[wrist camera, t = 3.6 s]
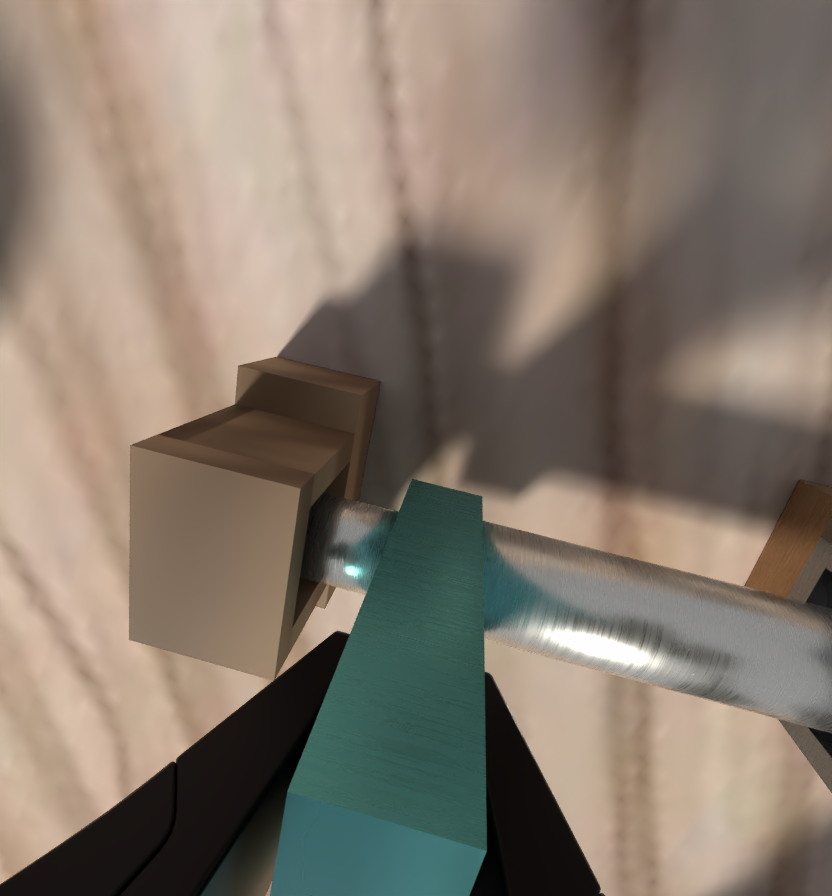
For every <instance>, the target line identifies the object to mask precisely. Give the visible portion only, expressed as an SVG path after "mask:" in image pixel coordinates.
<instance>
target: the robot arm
mask: <svg viewBox="0 0 832 896" xmlns="http://www.w3.org/2000/svg"><path fill="white" fill-rule="evenodd" d="M349 636H350V634H348V633H344V632H341V631H336V632H334V633H333V634H332V635H330V636H329V637H328V638H327V639H325V640H324V641H323V642H322V643H320V644H319V645H318V646H317V647H315V648H314V649H313V650H312V651H310V652H309V653H308V654H307V655H305V656H304V657H303V658H302V659H300V660H299V661H298V662H297V663H295V664H294V665H293V666H292V667H290V668H289V669H288V670H286V671H285V672H284V673H283V674H281V675H280V676H279V677H278V678H276V679H275V680H274V681H273V682H271V683H270V684H269V685H268V686H266V687H265V688H264V689H263V690H261V691H260V692H259V693H258V694H256V695H255V696H254V697H253V698H251V699H250V700H249V701H248V702H246V703H245V704H244V705H243V706H241V707H240V708H239V709H238V710H236V711H235V712H234V713H233V714H231V715H230V716H229V717H227V718H226V719H225V720H224V721H222V722H221V723H220V724H219V725H217V726H216V727H215V728H214V729H212V730H211V731H210V732H209V733H207V734H206V735H205V736H204V737H202V738H201V739H200V740H199V741H197V742H196V743H195V744H194V745H192V746H191V747H190V748H189V749H187V750H186V751H185V752H184V753H182V754H181V755H180V756H179V757H177V759H176V763H175V762H171V763H169V764H168V765H167V766H166V767H164V768H163V769H162V770H161V771H159V772H158V773H157V774H156V775H154V776H153V777H152V778H151V779H149V780H148V781H147V782H146V783H144V784H143V785H142V786H140V787H139V788H138V789H136V790H135V791H134V792H132V793H131V794H130V795H128V796H127V797H126V798H124V799H123V800H122V801H121V802H119V803H118V804H117V805H115V806H114V807H113V808H111V809H110V810H109V811H107V812H106V813H104V814H103V815H102V816H100V817H99V818H97V819H96V820H94V821H93V822H92V823H90V824H89V825H87V826H86V827H84V828H83V829H81V830H80V831H79V832H77V833H76V834H74V835H73V836H71V837H70V838H68V839H67V840H66V841H64V842H63V843H61V844H60V845H58V846H57V847H55V848H54V849H52V850H51V851H49V852H48V853H46V854H45V855H43V856H42V857H40V858H39V859H37V860H36V861H34V862H33V863H31V864H30V865H28V866H27V867H25V868H24V869H22V870H21V871H19V872H18V873H16V874H15V875H13V876H12V877H10V878H9V879H7V880H6V881H4V882H3V883H1V884H0V896H265V895H266V893H267V891H268V889H269V886H270V884H271V882H272V880H273V875H274V869H275V863H276V857H277V851H278V845H279V839H280V833H281V827H282V821H283V815H284V809H285V803H286V797H287V791H288V789H289V786H290V784H291V781H292V779H293V776H294V773H295V771H296V768H297V766H298V763H299V761H300V758H301V756H302V753H303V751H304V748H305V746H306V743H307V741H308V738H309V736H310V733H311V731H312V728H313V726H314V723H315V721H316V718H317V716H318V713H319V711H320V708H321V706H322V703H323V701H324V698H325V696H326V693H327V691H328V688H329V686H330V683H331V681H332V678H333V676H334V673H335V671H336V668H337V666H338V663H339V661H340V658H341V656H342V653H343V651H344V648H345V646H346V643H347V641H348V638H349ZM485 745H486V822H487V852H486V854H485V857H484V860H483V862H482V865H481V867H480V870H479V872H478V875H477V877H476V880H475V882H474V885H473V888H472V890H471V893H470V895H469V896H605V895H604V894H603V893H600V890H601V888H600V885H599V883H598V881H597V879H596V877H595V875H594V873H593V871H592V869H591V868H590V866H589V864H588V862H587V860H586V858H585V856H584V854H583V852H582V850H581V848H580V846H579V844H578V842H577V840H576V838H575V836H574V834H573V832H572V831H571V829H570V827H569V825H568V823H567V821H566V819H565V817H564V815H563V813H562V811H561V809H560V807H559V805H558V803H557V801H556V799H555V797H554V795H553V794H552V792H551V790H550V788H549V786H548V784H547V782H546V780H545V778H544V776H543V774H542V772H541V770H540V768H539V766H538V764H537V762H536V760H535V758H534V756H533V755H532V753H531V751H530V749H529V747H528V745H527V743H526V741H525V739H524V737H523V735H522V733H521V731H520V729H519V727H518V725H517V723H516V721H515V719H514V718H513V716H512V714H511V712H510V710H509V708H508V706H507V704H506V702H505V700H504V698H503V696H502V694H501V692H500V690H499V688H498V686H497V684H496V682H495V681H494V679H493V677H492V675H491V674H489V673H488V672H485ZM599 893H600V894H599Z"/></svg>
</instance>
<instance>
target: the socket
mask: <svg viewBox="0 0 832 896" xmlns="http://www.w3.org/2000/svg"><path fill="white" fill-rule="evenodd" d="M380 382H381V381H377V380H372V379H368V378H364V377H360V376H355V375H351V374H347V373H342V372H338V371H334V370H330V369H325V368H321V367H317V366H313V365H308V364H304V363H300V362H296V361H291V360H287V359H283V358H279V357H273V358H269V359H265V360H261V361H256V362H252V363H248V364H244V365H239V366H238V374H237V387H236V399H235V405H232V406H230V407H227V408H225V409H222V410H220V411H217V412H214V413H212V414H209V415H207V416H204V417H202V418H199V419H196V420H194V421H191V422H189V423H186V424H184V425H181V426H179V427H176V428H173V429H171V430H168V431H166V432H163V433H161V434H158V435H156V436H153V437H150V438H148V439H145V440H143V441H140V442H138V443H135V444H132V445H130V576H129V640H132V641H135V642H139V643H142V644H146V645H150V646H153V647H157V648H160V649H164V650H167V651H171V652H174V653H178V654H181V655H185V656H188V657H192V658H195V659H199V660H203V661H206V662H210V663H213V664H217V665H220V666H224V667H227V668H231V669H234V670H238V671H241V672H245V673H248V674H252V675H255V676H259V677H263V678H266V679H270V680H273V681H274V680H275V678H276V676H277V674H278V673H279V671H280V669H281V667H282V665H283V664H284V662H285V660H286V658H287V656H288V655H289V653H290V651H291V649H292V647H293V645H294V644H295V642H296V640H297V638H298V636H299V635H300V633H301V631H302V629H303V627H304V626H305V624H306V622H307V620H308V618H309V617H310V615H311V613H312V611H313V609H314V608H315V606H317V607H321V608H324V609H325V608H326V606H327V604H328V602H329V600H330V598H331V596H332V594H333V592H334V590H335V588H336V587H334V586H331V585H327V584H323V583H319V582H316V581H312V580H308V579H304V578H301V577H300V572H301V565H302V559H303V552H304V545H305V538H306V531H307V525H308V518H309V511H310V507H311V506H312V505H313V504H314V503H315V502H316V500H317V499H318V498H319V497H320V496H321V495H322V493H327V494H331V495H335V496H339V497H343V498H347V499H351V500H355V501H359V496H360V490H361V485H362V479H363V474H364V469H365V463H366V458H367V452H368V447H369V442H370V436H371V431H372V425H373V420H374V414H375V409H376V404H377V398H378V393H379V387H380Z"/></svg>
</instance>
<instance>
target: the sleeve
mask: <svg viewBox="0 0 832 896" xmlns="http://www.w3.org/2000/svg"><path fill="white" fill-rule="evenodd" d="M745 587H749V588H753V589H757V590H761V591H765V592H769V593H773V594H777V595H781V596H785V597H788V598H792V599H796V600H800V601H804V602H808V603H812V604H816V605H820V606H824V607H828V608H832V487H829V486H824V485H820V484H816V483H812V482H807V481H803V480H800V481H799V483H798V485H797V487H796V489H795V491H794V492H793V494H792V496H791V498H790V500H789V502H788V504H787V506H786V508H785V510H784V512H783V514H782V515H781V517H780V519H779V521H778V523H777V525H776V527H775V529H774V531H773V533H772V535H771V537H770V538H769V540H768V542H767V544H766V546H765V548H764V550H763V552H762V554H761V556H760V558H759V560H758V561H757V563H756V565H755V567H754V569H753V571H752V573H751V575H750V577H749V579H748V581H747V583H746V585H745ZM778 720H779V721H780V722H781V724H782V725H783V727H784V728H785V729H786V731H787V732H788V733H789V735H790V736H791V738H792V739H793V740H794V742H795V743H796V744H797V746H798V747H799V749H800V750H801V751H802V753H803V754H804V755H805V757H806V758H807V760H808V761H809V762H810V764H811V765H812V767H813V768H814V769H815V771H816V772H817V773H818V775H819V776H820V778H821V779H822V780H823V782H824V783H825V784H826V786H827V787H828V789H829V790H830V791H831V793H832V733H828V732H825V731H821V730H817V729H814V728H810V727H806V726H802V725H799V724H795V723H791V722H787V721H784V720H780V719H778Z"/></svg>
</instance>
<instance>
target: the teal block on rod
mask: <svg viewBox="0 0 832 896" xmlns="http://www.w3.org/2000/svg"><path fill="white" fill-rule="evenodd" d="M300 577H301V578H304V579H308V580H312V581H316V582H319V583H323V584H327V585H331V586H334V587H338V588H342V589H346V590H349V591H353V592H357V593H361V594H364V595H366V596H365V598H364V601H363V603H362V606H361V608H360V611H359V613H358V616H357V618H356V621H355V623H354V626H353V628H352V631H351V633H350V636H349V638H348V641H347V643H346V646H345V648H344V651H343V653H342V656H341V658H340V661H339V663H338V666H337V668H336V671H335V673H334V676H333V678H332V681H331V683H330V686H329V688H328V691H327V693H326V696H325V698H324V701H323V703H322V706H321V708H320V711H319V713H318V716H317V718H316V721H315V723H314V726H313V728H312V731H311V733H310V736H309V738H308V741H307V743H306V746H305V748H304V751H303V753H302V756H301V758H300V761H299V763H298V766H297V768H296V771H295V773H294V776H293V779H292V781H291V784H290V786H289V789H288V791H287V797H286V803H285V809H284V815H283V821H282V827H281V833H280V839H279V845H278V851H277V857H276V863H275V869H274V875H273V881H272V887H271V893H270V896H469V895H470V893H471V890H472V888H473V885H474V882H475V880H476V877H477V875H478V872H479V870H480V867H481V865H482V862H483V860H484V857H485V854H486V852H487V822H486V745H485V667H484V640H486V641H490V642H493V643H497V644H501V645H505V646H508V647H512V648H516V649H519V650H523V651H527V652H531V653H534V654H538V655H542V656H546V657H549V658H553V659H557V660H560V661H564V662H568V663H572V664H575V665H579V666H583V667H586V668H590V669H594V670H598V671H601V672H605V673H609V674H613V675H616V676H620V677H624V678H627V679H631V680H635V681H639V682H642V683H646V684H650V685H653V686H657V687H661V688H665V689H668V690H672V691H676V692H680V693H683V694H687V695H691V696H694V697H698V698H702V699H706V700H709V701H713V702H717V703H720V704H724V705H728V706H732V707H735V708H739V709H743V710H747V711H750V712H754V713H758V714H761V715H765V716H769V717H773V718H776V719H780V720H784V721H787V722H791V723H795V724H799V725H802V726H806V727H810V728H814V729H817V730H821V731H825V732H828V733H832V608H828V607H824V606H820V605H816V604H812V603H808V602H804V601H800V600H796V599H792V598H788V597H785V596H781V595H777V594H773V593H769V592H765V591H761V590H757V589H753V588H749V587H745V586H741V585H737V584H733V583H729V582H725V581H721V580H717V579H713V578H709V577H705V576H701V575H697V574H693V573H689V572H685V571H681V570H677V569H673V568H669V567H665V566H661V565H657V564H653V563H649V562H645V561H641V560H637V559H633V558H629V557H625V556H621V555H617V554H613V553H609V552H605V551H601V550H597V549H593V548H590V547H586V546H582V545H578V544H574V543H570V542H566V541H562V540H558V539H554V538H550V537H546V536H542V535H538V534H534V533H530V532H526V531H522V530H518V529H514V528H510V527H506V526H502V525H498V524H494V523H490V522H486V521H483V512H482V496H479V495H474V494H470V493H466V492H462V491H458V490H454V489H450V488H446V487H442V486H438V485H434V484H430V483H426V482H422V481H418V480H414V479H412V480H411V483H410V485H409V488H408V490H407V493H406V495H405V498H404V500H403V503H402V505H401V508H400V510H399V512H398V511H394V510H390V509H386V508H382V507H379V506H375V505H371V504H367V503H363V502H359V501H355V500H351V499H347V498H343V497H339V496H335V495H331V494H327V493H322V495H321V496H320V497H319V498H318V499H317V500H316V502H315V503H314V504H313V505H312V506H311V507H310V511H309V518H308V525H307V531H306V538H305V545H304V552H303V559H302V565H301V572H300Z"/></svg>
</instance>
